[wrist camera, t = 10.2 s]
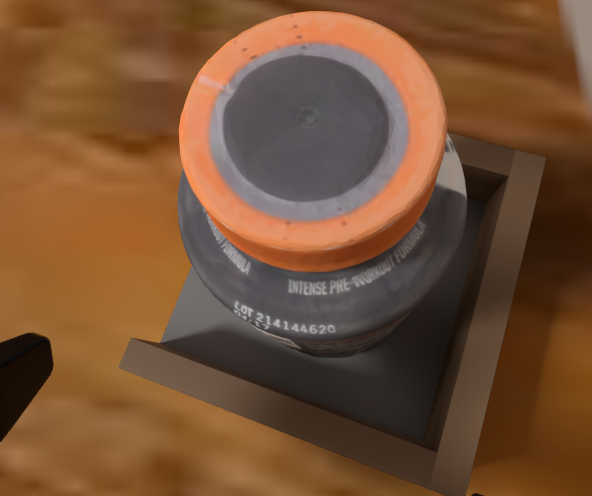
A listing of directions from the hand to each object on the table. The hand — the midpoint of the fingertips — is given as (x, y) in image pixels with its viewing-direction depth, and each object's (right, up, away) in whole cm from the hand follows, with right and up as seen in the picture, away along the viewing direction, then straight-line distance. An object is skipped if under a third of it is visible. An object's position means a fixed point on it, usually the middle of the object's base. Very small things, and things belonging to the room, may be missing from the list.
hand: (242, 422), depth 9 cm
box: (+3, +2, +9) cm, 9 cm away
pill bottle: (+2, +2, +8) cm, 9 cm away
